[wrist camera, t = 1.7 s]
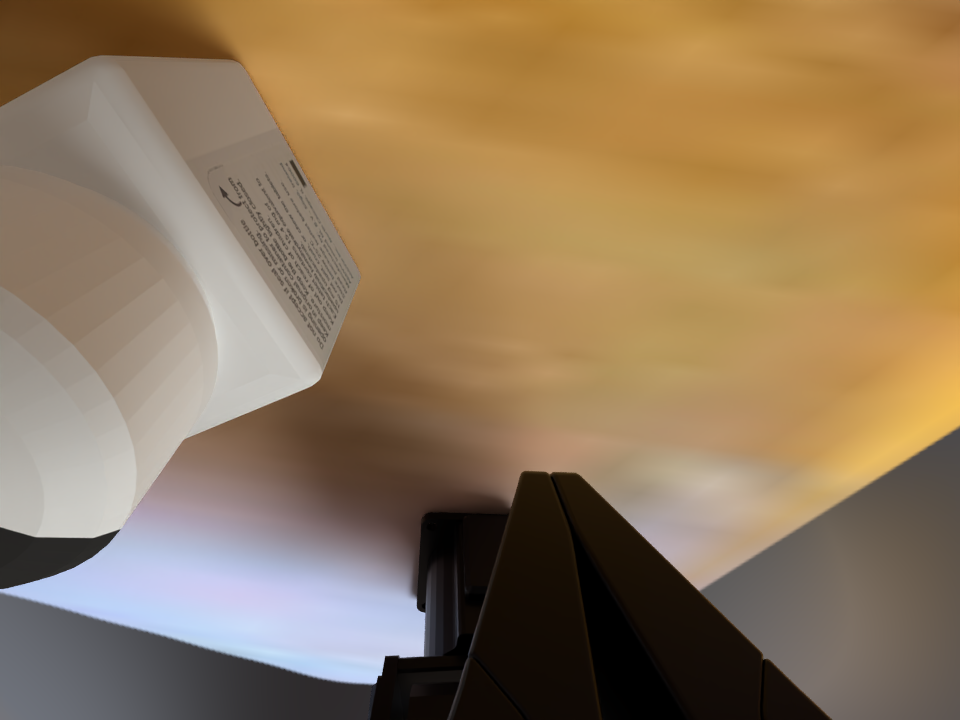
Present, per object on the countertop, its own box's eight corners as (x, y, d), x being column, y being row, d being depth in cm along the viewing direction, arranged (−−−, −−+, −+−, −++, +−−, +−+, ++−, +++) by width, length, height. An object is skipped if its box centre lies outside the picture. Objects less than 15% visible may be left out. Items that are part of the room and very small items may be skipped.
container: (188, 355, 21) (-118, 700, 10) (35, 162, 17) (-738, 344, 6) (366, 277, 20) (259, 560, 8) (241, 55, 16) (-230, 26, 5)
